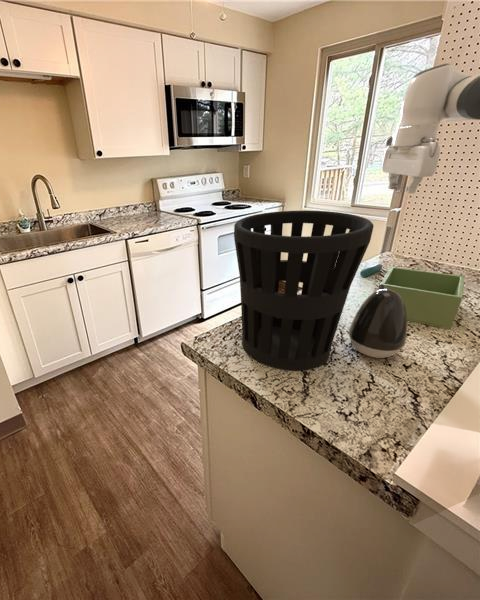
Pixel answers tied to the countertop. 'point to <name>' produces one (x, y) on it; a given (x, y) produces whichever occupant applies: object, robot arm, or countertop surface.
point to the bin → (427, 294)
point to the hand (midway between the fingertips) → (400, 191)
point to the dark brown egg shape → (380, 324)
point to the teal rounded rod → (371, 270)
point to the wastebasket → (296, 284)
